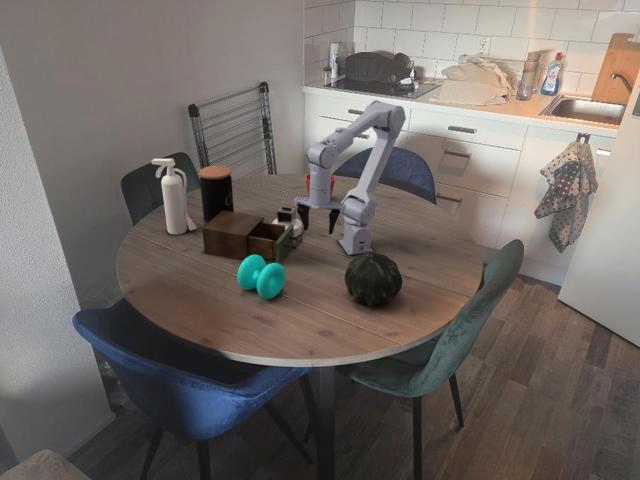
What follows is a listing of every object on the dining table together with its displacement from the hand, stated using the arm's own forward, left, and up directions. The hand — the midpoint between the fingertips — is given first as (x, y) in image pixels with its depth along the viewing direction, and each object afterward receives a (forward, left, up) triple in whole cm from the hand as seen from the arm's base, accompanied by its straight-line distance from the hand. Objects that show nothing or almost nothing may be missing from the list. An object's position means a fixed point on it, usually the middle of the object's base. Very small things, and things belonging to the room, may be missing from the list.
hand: (318, 230), depth 144 cm
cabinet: (+16, +22, -10) cm, 29 cm away
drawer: (+8, +12, -9) cm, 17 cm away
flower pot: (+42, -14, -11) cm, 46 cm away
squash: (-22, -8, -11) cm, 26 cm away
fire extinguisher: (+31, +39, -11) cm, 51 cm away
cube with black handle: (+21, +4, -7) cm, 23 cm away
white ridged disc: (+21, +4, -11) cm, 24 cm away
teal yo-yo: (-12, +20, -11) cm, 25 cm away
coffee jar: (+36, +25, -11) cm, 45 cm away
